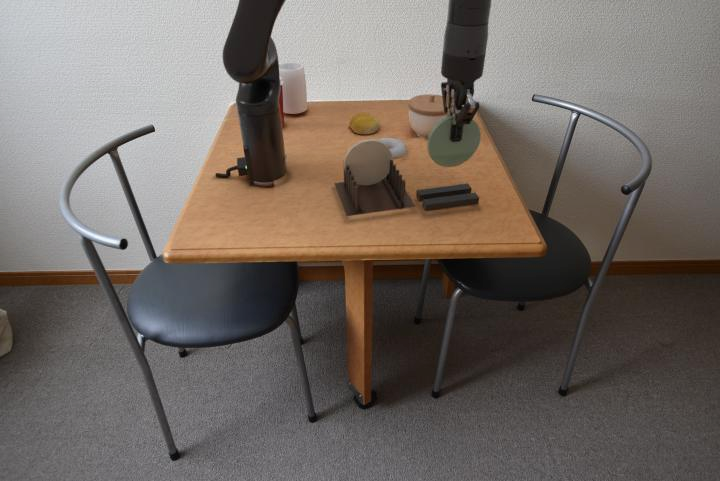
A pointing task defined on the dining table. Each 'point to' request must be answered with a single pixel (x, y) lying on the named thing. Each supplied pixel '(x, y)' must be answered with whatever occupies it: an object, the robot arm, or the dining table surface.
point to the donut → (395, 147)
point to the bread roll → (364, 123)
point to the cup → (293, 87)
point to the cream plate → (368, 161)
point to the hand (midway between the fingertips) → (454, 139)
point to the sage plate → (452, 143)
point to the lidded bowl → (425, 113)
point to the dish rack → (373, 193)
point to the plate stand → (447, 197)
